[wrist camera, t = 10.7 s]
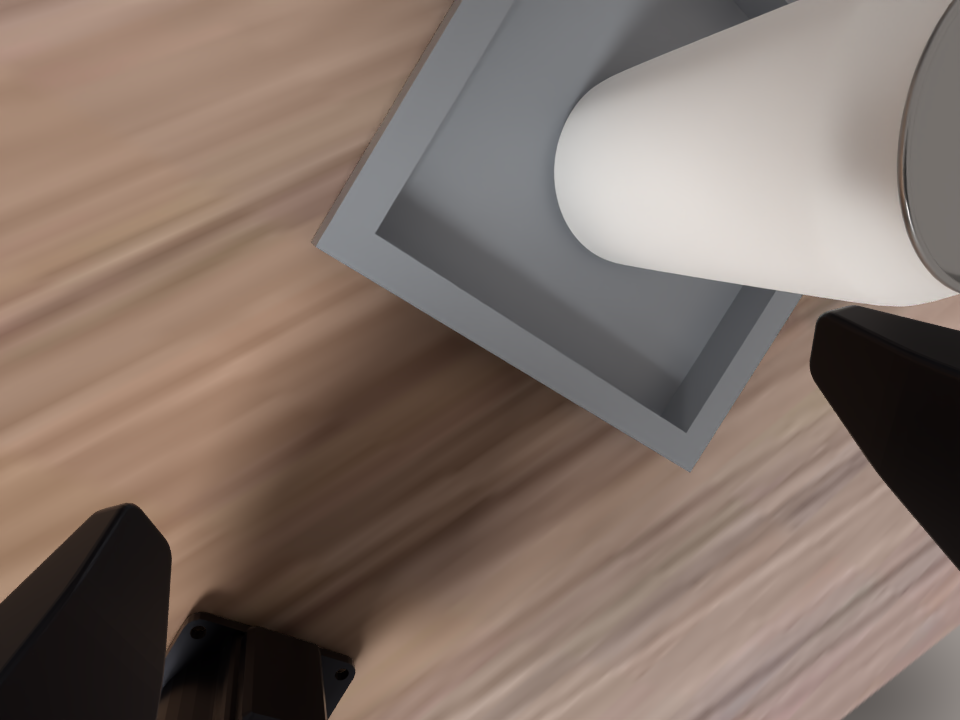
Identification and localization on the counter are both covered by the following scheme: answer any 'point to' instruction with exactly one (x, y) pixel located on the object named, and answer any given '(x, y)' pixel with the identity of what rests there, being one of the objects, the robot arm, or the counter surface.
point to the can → (782, 155)
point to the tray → (547, 219)
